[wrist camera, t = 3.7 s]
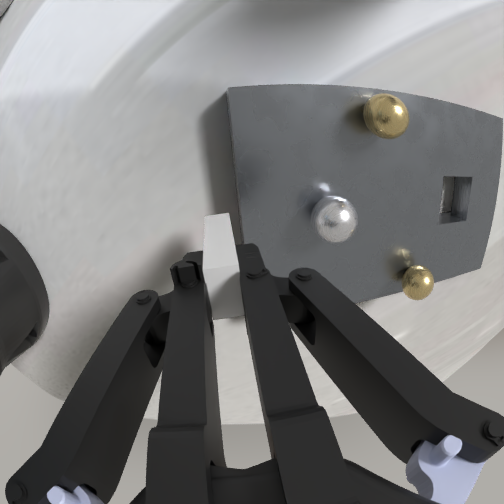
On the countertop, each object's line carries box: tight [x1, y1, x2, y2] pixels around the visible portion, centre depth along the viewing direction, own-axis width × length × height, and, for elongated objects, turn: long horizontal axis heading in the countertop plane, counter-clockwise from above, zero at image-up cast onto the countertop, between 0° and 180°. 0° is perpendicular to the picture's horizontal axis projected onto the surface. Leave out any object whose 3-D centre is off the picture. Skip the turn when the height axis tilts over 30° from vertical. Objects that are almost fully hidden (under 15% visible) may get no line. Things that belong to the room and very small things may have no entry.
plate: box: [226, 84, 503, 303], centre depth 22 cm, size 28×18×2 cm, turn 95°
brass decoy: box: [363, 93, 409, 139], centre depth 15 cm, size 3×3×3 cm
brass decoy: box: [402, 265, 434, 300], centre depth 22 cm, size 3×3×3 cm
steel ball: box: [311, 196, 358, 244], centre depth 18 cm, size 3×3×3 cm
